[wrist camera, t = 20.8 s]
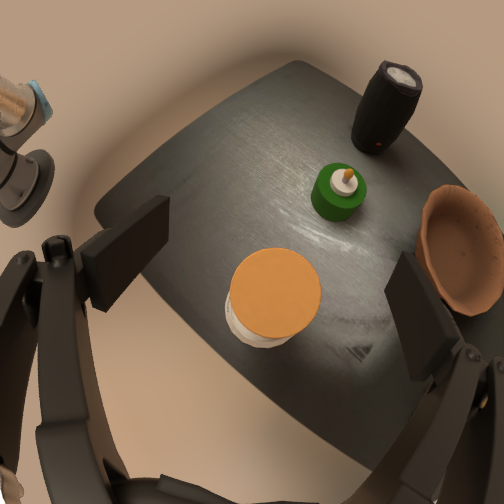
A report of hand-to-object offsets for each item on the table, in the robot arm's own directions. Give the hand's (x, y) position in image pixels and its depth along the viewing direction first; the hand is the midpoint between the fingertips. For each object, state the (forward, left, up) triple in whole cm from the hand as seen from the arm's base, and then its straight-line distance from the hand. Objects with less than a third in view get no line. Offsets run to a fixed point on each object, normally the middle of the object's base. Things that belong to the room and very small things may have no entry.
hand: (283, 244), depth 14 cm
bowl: (+33, +5, -29) cm, 44 cm away
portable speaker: (+23, +31, -29) cm, 48 cm away
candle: (+13, +17, -29) cm, 35 cm away
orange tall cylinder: (-1, -2, -13) cm, 14 cm away
